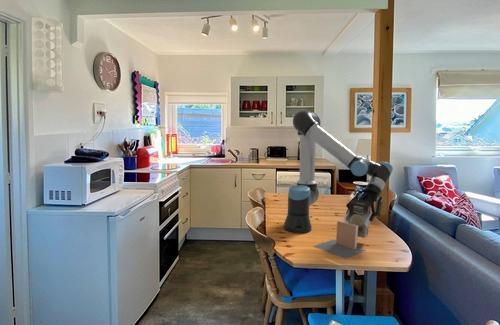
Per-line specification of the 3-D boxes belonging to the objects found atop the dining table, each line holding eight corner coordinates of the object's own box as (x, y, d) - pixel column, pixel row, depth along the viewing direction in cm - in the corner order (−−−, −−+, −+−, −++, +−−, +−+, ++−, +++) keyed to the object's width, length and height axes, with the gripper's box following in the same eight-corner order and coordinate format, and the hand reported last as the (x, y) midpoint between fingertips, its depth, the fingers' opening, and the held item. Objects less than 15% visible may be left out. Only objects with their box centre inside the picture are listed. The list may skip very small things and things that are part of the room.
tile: (336, 243, 162) (337, 221, 160) (338, 242, 163) (339, 220, 162) (354, 249, 154) (355, 226, 153) (356, 248, 155) (358, 225, 154)
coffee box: (346, 234, 164) (348, 202, 162) (349, 230, 170) (352, 200, 167) (365, 238, 159) (368, 206, 157) (368, 234, 165) (371, 203, 162)
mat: (312, 247, 157) (313, 246, 156) (333, 240, 167) (333, 239, 167) (346, 259, 143) (346, 258, 143) (366, 251, 153) (366, 250, 153)
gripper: (398, 196, 163) (379, 233, 155) (357, 188, 180) (338, 221, 172) (394, 187, 159) (374, 224, 151) (352, 179, 176) (332, 213, 168)
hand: (355, 223), depth 162 cm, fingers closed on coffee box, 10 cm apart
